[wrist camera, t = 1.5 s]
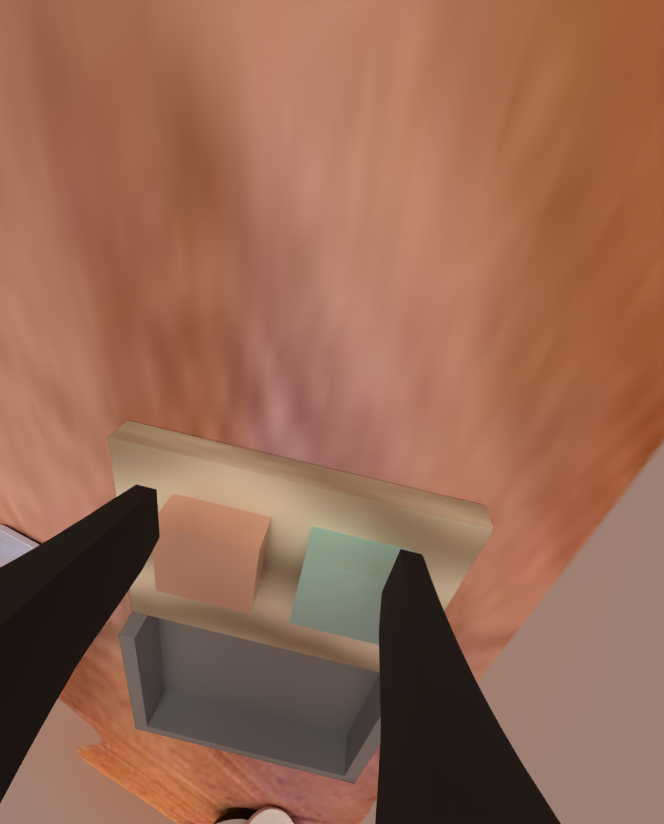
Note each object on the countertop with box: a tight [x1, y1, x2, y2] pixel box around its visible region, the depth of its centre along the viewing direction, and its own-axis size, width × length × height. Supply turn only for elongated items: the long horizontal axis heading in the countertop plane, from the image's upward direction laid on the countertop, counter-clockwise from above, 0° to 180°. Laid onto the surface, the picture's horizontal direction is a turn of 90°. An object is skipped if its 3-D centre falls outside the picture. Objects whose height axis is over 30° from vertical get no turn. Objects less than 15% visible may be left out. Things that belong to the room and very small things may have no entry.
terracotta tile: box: [153, 493, 272, 614], centre depth 19 cm, size 5×5×2 cm
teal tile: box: [289, 526, 412, 645], centre depth 19 cm, size 5×5×2 cm
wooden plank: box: [108, 421, 493, 672], centre depth 21 cm, size 14×18×2 cm
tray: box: [119, 612, 381, 784], centre depth 28 cm, size 14×18×3 cm
